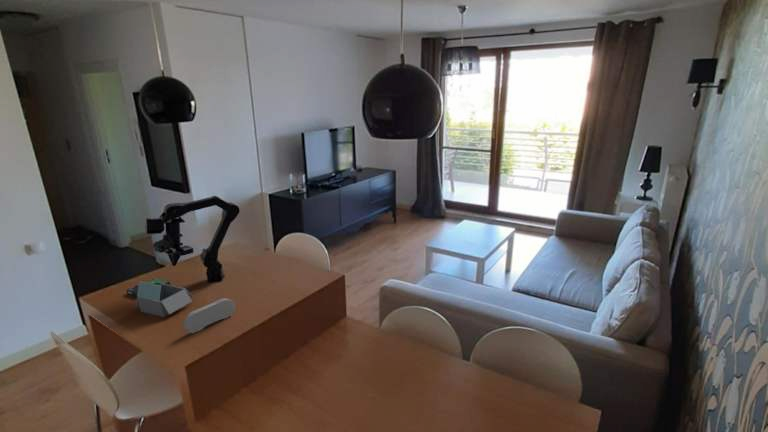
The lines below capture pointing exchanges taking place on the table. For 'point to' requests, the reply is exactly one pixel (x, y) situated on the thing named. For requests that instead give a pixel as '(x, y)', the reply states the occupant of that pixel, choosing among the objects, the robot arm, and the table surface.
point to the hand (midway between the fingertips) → (174, 265)
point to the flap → (149, 290)
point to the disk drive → (157, 281)
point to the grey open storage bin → (165, 301)
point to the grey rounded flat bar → (208, 315)
